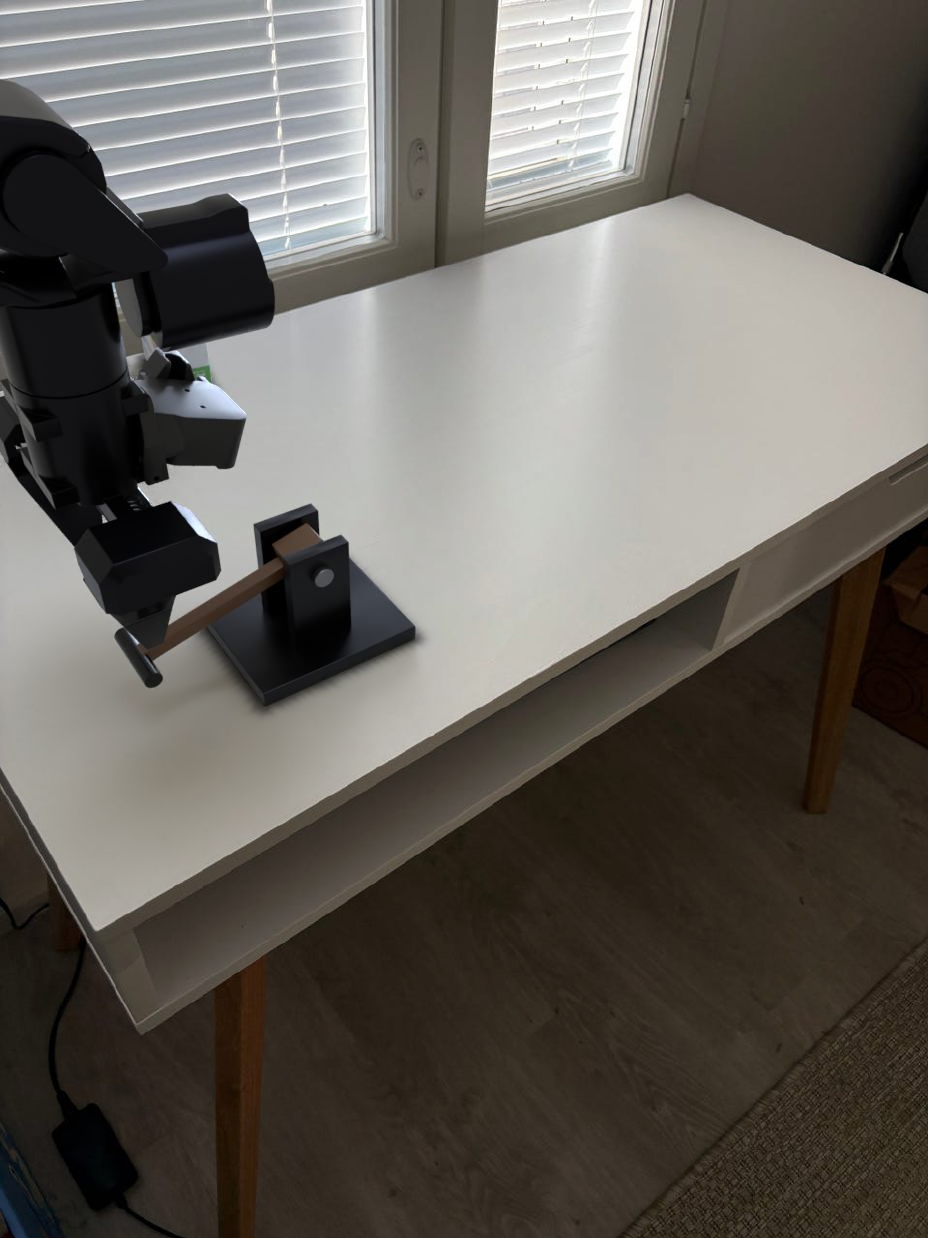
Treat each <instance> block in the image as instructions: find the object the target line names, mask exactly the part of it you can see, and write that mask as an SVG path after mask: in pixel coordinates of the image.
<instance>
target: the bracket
mask: <svg viewBox="0 0 928 1238" xmlns="http://www.w3.org/2000/svg"><path fill="white" fill-rule="evenodd" d="M319 517H320V515H319V510H318V508H316V506H315V505H314V504H313V503H308V504H305V505H302V506H299V507H297V508H294V509H291V510H289V511H285V512H282V513H279V514H277V515H274V516H272V517H269V518H266V519H263V520H261V521H257V522H254V523H253V526H252V527H253V534H254V535H253V536H254V543H255V551H256V560H257V569H259V568H260V567H262V566H264V565H265V564H267V563H268V562H270V561H272V560H273V559H275V558H276V557H277V555H276V553H275V550H274V548H273V546H272V544H273V543H275V542H276V541H278V540H280V539H281V538H283V537H285V536H286V535H288V534H289V533H291V532H293V531H294V530H296V529H297V528H299V527H301V526H302V525H304V524H306V523H307V524H308V525H309V526H310V527H311V528H312V529H313V530H314V531H315V532H316V533H317V534H318V535H319V536H320V537H321V534H320V518H319ZM282 560H283V571H284V578H283V579H282V580H280V581H278V582H277V583H275V584H274V585H272V586H270V587H269V588H267V589H266V590H264V591H263V592H261V593H259V594H258V595H256V596H255V597H253V598H251V599H250V600H248V601H247V602H245V603H244V604H242V605H240V606H239V607H237V608H236V609H234V610H232V611H231V612H229V613H228V614H226V615H225V616H223V617H221V618H220V619H218V620H217V621H215V622H214V623H212V624H210V625H209V626H207V627H206V629H207V630H208V631H209V633H210V634H211V636H212V637H213V638H214V639H215V641H216V642H217V643H218V645H219V646H220V647H221V649H222V650H223V652H224V653H225V654H226V656H227V657H228V659H230V661H231V663H233V665H234V666H235V667H236V669H237V670H238V671H239V673H240V675H242V677H243V678H244V679H245V681H246V682H247V683H248V685H249V686H250V688H251V690H253V692H254V693H255V694H256V695H257V697H258V699H259V700H260V701H261V702H262V704H263V705H264V706H268V705H271V704H273V703H275V702H278V701H280V700H283V699H284V698H286V697H288V696H290V695H293V694H296V693H297V692H299V691H301V690H304V689H307V688H308V687H310V686H313V685H315V684H317V683H319V682H321V681H324V680H326V679H329V678H331V677H333V676H336V675H338V674H339V673H342V672H344V671H346V670H349V669H350V668H352V667H355V666H357V665H358V664H361V663H363V662H365V661H368V660H370V659H372V658H374V657H377V656H379V655H381V654H383V653H385V652H388V651H390V650H392V649H395V648H396V647H399V646H401V645H403V644H406V643H408V642H410V641H412V640H414V639H416V631H417V630H416V625H415V624H414V623H413V622H412V621H411V620H410V619H409V618H408V617H407V616H406V614H404V612H403V611H401V609H400V608H399V607H398V606H396V604H395V603H394V602H393V601H392V600H391V599H390V598H389V597H388V596H387V595H386V594H385V592H383V591H382V589H381V588H380V587H379V586H378V585H377V584H376V583H375V582H374V581H373V580H372V579H371V578H370V576H368V575H367V573H365V572H364V571H363V569H362V568H361V567H360V566H359V565H358V564H357V563H356V562H355V561H354V560H353V559H352V558H351V557H350V543H349V541H348V540H347V539H346V537H345V536H344V535H343V534H338V535H336V536H333V537H331V538H330V537H329V538H328V539H326V540H323V541H322V542H320V543H317V544H315V545H312V546H309V547H307V548H304V549H302V550H299V551H296V552H294V553H291V554H288V555H286V556H283V557H282Z"/></svg>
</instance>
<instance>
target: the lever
mask: <svg viewBox="0 0 928 1238" xmlns="http://www.w3.org/2000/svg"><path fill="white" fill-rule="evenodd" d="M322 541H324V540H323V539H322V537H321V535H320V536H319V535H318V534H317V533H316V532H315V531H314V530H313V529H312V528H311V527H310V526H309V525H308V524H307V523H306V524H304V525H302V526H301V527H299V528H297V529H296V530H294V531H293V532H291V533H289V534H288V535H286V536H285V537H283V538H281V539H280V540H278V541H276V542H275V543H273V544H272V546H273V548H274V550H275V553H276V555H277V557H276V558H275V559H273V560H272V561H270V562H268V563H267V564H265V565H264V566H262V567H260V568H259V569H258V568H257V569H256V570H254V571H253V572H251V573H249V574H247V575H246V576H244V577H243V578H241V579H240V580H238V581H237V582H235V583H233V584H232V585H230V586H228V587H227V588H224V590H222V591H220V592H219V593H217V594H215V595H214V596H212V597H210V598H209V599H207V600H206V601H204V602H203V603H201V604H199V605H198V606H196V607H195V608H193V609H191V610H190V611H188V612H187V613H185V614H184V615H182V616H180V617H178V618H177V619H176V620H174V621H173V622H171V623H169V624H168V628H167V632H166V636H165V640H164V643H163V644H161V645H159V646H157V647H154V648H152V649H148V650H147V649H145V648H144V647H143V646H142V645H141V644H140V643H139V642H138V641H137V640H136V639H135V638H134V637H133V636H132V635H131V634H130V633H129V632H128V631H127V630H126V629H125V628H124V627H123V626H122V627H120V628H118V629H117V630H116V631H115V632H114V636H113V637H114V641H115V642H116V643H117V645H118V647H119V648H120V649H121V651H122V653H123V654H124V656H125V657H126V658H127V661H128V662H129V663H130V664H131V666H132V668H133V670H134V671H135V672H136V674H137V675H138V677H139V678H140V680H141V682H142V683H143V685H144V686H145V687H146V688H148V689H154V688H157V687H158V686H160V685H161V684H162V682H163V679H164V675H163V674H162V672H161V671H160V670H159V668H158V666H157V665H156V664H155V662H154V661H155V660H156V659H159V658H160V657H161V656H163V655H165V654H167V653H168V652H170V651H171V650H172V649H175V647H177V646H179V645H180V644H182V643H184V642H185V641H188V639H190V638H192V637H193V636H194V635H197V634H198V633H199V632H201V631H202V630H204V629H207V626H209V625H210V624H212V623H214V622H215V621H217V620H218V619H220V618H221V617H223V616H225V615H226V614H228V613H229V612H231V611H232V610H234V609H236V608H237V607H239V606H240V605H242V604H244V603H245V602H247V601H248V600H250V599H251V598H253V597H255V596H256V595H258V594H259V593H261V592H263V591H264V590H266V589H267V588H269V587H270V586H272V585H274V584H275V583H277V582H278V581H280V580H282V579H283V578H284V571H283V560H282V557H283V556H286V555H288V554H291V553H294V552H296V551H299V550H302V549H304V548H307V547H309V546H312V545H315V544H317V543H320V542H322Z"/></svg>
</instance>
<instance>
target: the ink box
mask: <svg viewBox="0 0 928 1238" xmlns="http://www.w3.org/2000/svg"><path fill="white" fill-rule="evenodd" d="M140 338H141V343H142V344H141V345H142V350H143V354H144V359H145V361H147V360H148V359H149V357H150V356H151V355H152V353H153V352H154V351H155V349H159V348H158V347H157V345H156V344H155V342H154V341H153V339H152V338H151V336H150V335H148V336H143V337H140ZM208 350H209V349H208V342H207V343H203V344H199V345H195V346H190V347H186V348H182V349H178V350H175V351H178V352H179V353H180V354H181V355H182V356H183V357H184V358H185V359H186V360H187V361H188V362H189V363H190V365H191V367H192V371H193V374H194V378H195V381H197V377H198V376H202V377H204V378H205V379H206V380H207V381H208V382H209V383H211V384H213V378H212V371H211V364H210V358H209V357H210V356H209V351H208Z"/></svg>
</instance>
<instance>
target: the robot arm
mask: <svg viewBox="0 0 928 1238" xmlns="http://www.w3.org/2000/svg"><path fill="white" fill-rule="evenodd" d="M104 171H105V170H104V168H103V164H102V162H101V161H100V158H99V157H98V155H97V154H96V152H95V151H94V148H92V146H91V144H90V143H89V141H88V140H87V139H86V138H84V137H83V135H82V134H80V133H79V132H78V131H77V130H76V129H75V128H74V127H73V126H72V125H71V124H70V123H69V122H67V121H66V120H65V119H64V118H63V116H61V115H60V114H59V113H58V112H57V111H56V110H55V109H54V108H52V107H51V106H50V105H49V104H48V102H46V101H45V100H44V99H43V98H41V97H40V96H39V95H38V94H36V93H35V92H34V91H33V90H31V89H29V88H27V87H25V86H23V85H21V84H19V83H17V82H14V81H11V80H7V79H1V78H0V356H1V360H2V363H3V366H4V370H5V374H6V377H7V378H4V379H0V386H1V389H2V392H3V395H1V396H0V455H1V457H2V458H3V460H4V462H5V463H6V465H7V468H9V470H10V471H11V473H12V475H13V476H14V477H15V479H16V480H17V482H18V483H19V484H20V486H21V487H22V488H23V489H24V490H25V491H26V492H27V494H28V495H29V496H30V497H31V498H32V500H33V501H34V502H35V503H36V504H37V505H38V507H39V508H40V509H41V510H42V511H43V512H44V513H45V515H46V516H47V517H48V518H49V520H51V522H52V523H53V524H54V525H55V526H56V527H57V529H58V530H59V531H60V532H61V533H62V535H63V536H64V537H65V538H66V539H67V541H68V542H69V543H70V544H71V545H72V547H74V548H73V550H74V555H75V558H76V561H77V565H78V567H79V570H80V572H81V575H82V577H83V578H82V582H84V584H85V586H86V587H87V589H88V590H89V592H90V593H91V595H92V596H93V599H95V601H96V602H97V604H98V606H99V607H100V609H102V610H103V612H104V614H106V615H109V616H111V617H112V618H114V620H116V622H118V624H120V625H121V626H122V627H124V628H125V629H126V630H127V631H128V632H129V633H130V634H131V635H132V636H133V637H134V638H135V639H136V640H137V641H138V642H139V643H140V644H141V645H142V646H143V647H144V648H145V649H147V650H148V649H152V648H154V647H157V646H159V645H161V644H163V643H164V640H165V636H166V632H167V628H168V625H169V624H170V619H171V616H172V611H173V607H174V603H175V601H176V597H177V596H178V595H181V594H184V593H187V592H189V591H192V590H194V589H197V588H200V587H202V586H206V585H208V584H211V583H213V582H215V581H217V580H218V578H219V576H220V574H221V572H222V564H221V559H220V552H219V544H218V542H217V541H216V539H214V537H213V536H212V535H211V534H210V532H209V531H208V530H207V528H206V527H205V526H204V525H203V524H202V522H201V521H200V520H199V519H198V518H197V516H195V514H194V513H193V512H192V510H191V509H190V508H188V507H185V506H183V505H181V504H179V503H176V502H175V501H172V500H169V501H165V502H162V503H160V504H157V505H153V503H152V502H151V501H150V500H149V498H148V497H147V496H146V495H145V494H144V492H143V491H142V490H141V489H140V487H139V484H141V483H142V484H143V483H145V485H146V486H153V485H155V484H160V483H162V482H165V481H169V480H170V474H169V469H168V465H169V466H175V467H216V469H217V470H230V469H232V468H234V467H235V466H236V462H237V457H238V453H239V450H240V446H241V441H242V437H243V434H244V430H245V426H246V422H247V418H248V417H247V413H246V412H245V411H244V410H243V409H242V408H241V407H240V406H239V405H238V404H237V403H236V402H235V400H233V399H232V398H231V397H230V396H229V394H227V393H226V392H225V391H224V390H223V389H222V388H221V387H219V386H218V385H216V384H213V383H212V384H211V383H209V382H208V381H207V380H206V379H205V378H204V377H202V376H198V377H197V381H195V378H194V374H193V371H192V367H191V365H190V363H189V362H188V361H187V360H186V359H185V358H184V357H183V356H182V355H181V354H180V353H179V352H178V351H175V350H178V349H182V348H186V347H190V346H195V345H199V344H203V343H207V344H208V343H211V342H214V341H219V340H223V339H227V338H232V337H237V336H240V335H244V334H248V333H252V332H256V331H260V330H264V329H268V328H269V327H270V326H271V325H272V323H273V321H274V318H275V313H276V312H275V311H276V294H275V292H276V291H275V285H274V282H273V280H272V278H270V277H269V275H268V274H269V273H268V269H267V267H266V266H267V265H266V263H265V262H266V261H265V259H264V255H263V254H262V251H261V248H260V245H259V243H258V241H257V239H256V238H255V235H254V234H253V232H252V230H251V226H250V216H249V215H250V214H249V208H248V207H246V206H245V205H244V204H243V203H242V202H240V201H239V200H238V199H236V197H234V195H232V194H231V193H229V192H227V193H220V194H215V195H210V196H207V197H204V198H202V199H199V200H197V201H195V202H192V203H187V204H183V205H176V206H172V207H165V208H160V209H159V208H158V209H154V210H148V211H143V212H138V213H135V212H134V210H132V209H131V208H130V207H129V206H128V205H127V203H125V202H124V201H123V200H122V199H121V198H120V197H119V196H118V195H117V194H116V193H115V192H114V191H113V190H112V189H111V187H109V186H108V183H107V180H106V175H105V172H104ZM113 285H114V286H113ZM114 289H115V291H114ZM115 294H116V295H115ZM116 297H117V300H118V303H119V307H120V310H121V312H122V315H123V317H124V320H125V322H126V324H127V326H128V327H129V329H130V330H131V332H132V334H133V335H134V336H135V337H137V338H141V337H143V336H148V335H150V336H151V338H152V339H153V341H154V342H155V344H156V345H157V347H158V348H159V349H155V351H154V352H153V353H152V355H151V356H150V357H149V359H148V360H145V363H144V364H143V365H142V367H141V368H140V369H139V371H138V372H137V378H136V379H133V378H132V377H131V374H130V369H129V363H128V359H127V353H126V349H125V344H124V338H123V333H122V328H121V322H120V318H119V313H118V307H117V301H116ZM103 518H104V519H105V521H106V522H103V520H104V519H103Z"/></svg>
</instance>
